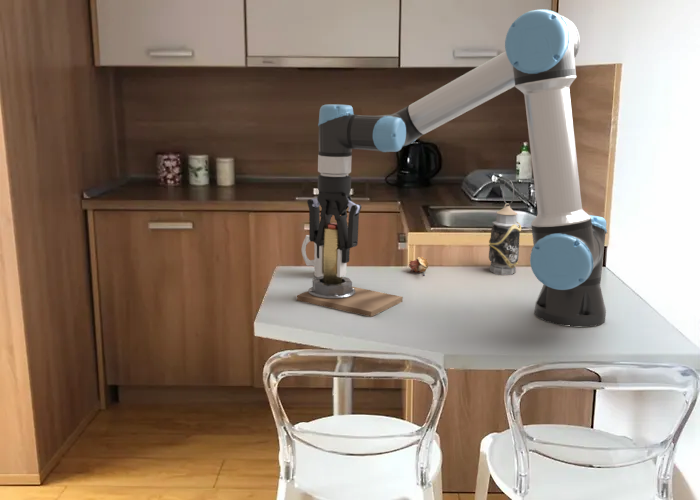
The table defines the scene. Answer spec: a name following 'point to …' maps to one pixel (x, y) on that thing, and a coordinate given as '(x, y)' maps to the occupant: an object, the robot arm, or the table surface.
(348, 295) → the flange socket
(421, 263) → the figurine
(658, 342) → the table surface
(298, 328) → the table surface
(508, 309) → the table surface
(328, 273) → the gold cylinder
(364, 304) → the board
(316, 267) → the mug
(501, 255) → the lantern
